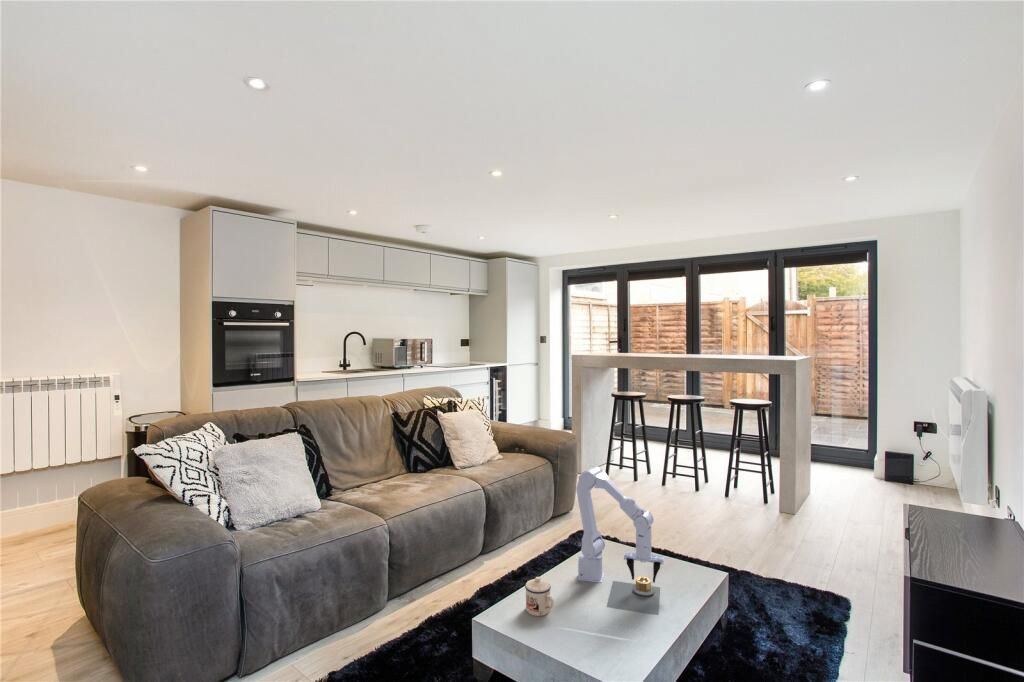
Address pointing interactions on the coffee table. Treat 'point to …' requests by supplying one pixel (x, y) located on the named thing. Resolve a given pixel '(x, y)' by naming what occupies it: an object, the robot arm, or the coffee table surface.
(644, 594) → the metal peg stand
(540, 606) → the teacup with lid
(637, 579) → the ring
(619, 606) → the bench mat
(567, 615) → the coffee table surface
